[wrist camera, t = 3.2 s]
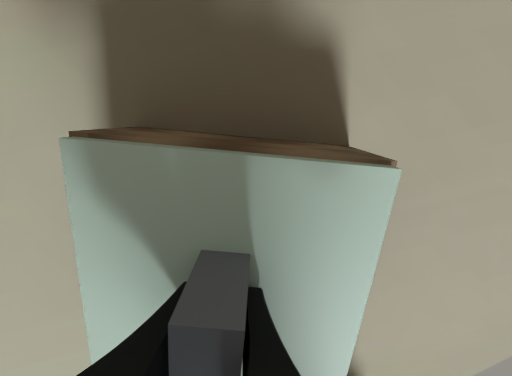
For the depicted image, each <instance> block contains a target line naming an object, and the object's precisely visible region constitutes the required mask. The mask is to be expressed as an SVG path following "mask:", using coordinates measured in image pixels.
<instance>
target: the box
mask: <svg viewBox="0 0 512 376" xmlns="http://www.w3.org/2000/svg"><path fill="white" fill-rule="evenodd" d="M69 137H84V138H95V139H106V140H117V141H128V142H140V143H151V144H162V145H173V146H184V147H195V148H206V149H217V150H228V151H239V152H250V153H261V154H272V155H283V156H294V157H305V158H316V159H327V160H338V161H349V162H360V163H371V164H382V165H392V166H395V167H396V164H397V161H395V160H392V159H388V158H385V157H382V156H379V155H375V154H372V153H369V152H366V151H362V150H359V149H356V148H353V147H349V146H338V145H327V144H316V143H306V142H295V141H284V140H273V139H262V138H251V137H240V136H229V135H218V134H207V133H196V132H185V131H174V130H164V129H153V128H142V127H127V128H112V129H96V130H81V131H69Z"/></svg>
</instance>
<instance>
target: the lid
mask: <svg viewBox="0 0 512 376" xmlns="http://www.w3.org/2000/svg"><path fill="white" fill-rule="evenodd" d="M59 145H60V152H61V158H62V165H63V172H64V179H65V186H66V193H67V200H68V207H69V214H70V221H71V227H72V234H73V241H74V248H75V255H76V262H77V269H78V276H79V283H80V289H81V296H82V303H83V310H84V317H85V324H86V331H87V338H88V345H89V351H90V358H91V365H92V364H94V363H95V362H96V361H98V360H99V359H101V358H102V357H103V356H105V355H106V354H107V353H109V352H110V351H111V350H112V349H114V348H115V347H116V346H118V345H119V344H120V343H121V342H122V341H124V340H125V339H126V338H127V337H128V336H130V335H131V334H132V333H133V332H134V331H135V330H136V329H138V328H139V327H140V326H141V325H142V324H143V323H144V322H145V321H146V320H147V319H149V318H150V317H151V316H152V315H153V314H154V313H155V312H156V311H157V310H158V309H159V308H160V307H161V306H162V305H163V304H164V303H165V302H166V301H167V300H168V298H169V297H170V296H171V295H172V294H173V293H174V292H175V291H176V290H177V289H178V288H179V287H180V285H181V284H182V283H183V282H185V281H187V283H186V285H185V287H184V289H183V292H182V294H181V296H180V298H179V301H178V303H177V305H176V307H175V310H174V312H173V314H172V316H171V319H170V321H169V323H168V359H169V376H242V357H243V347H244V336H245V324H246V310H247V295H248V287H258V288H261V289H262V290H263V294H264V298H265V301H266V304H267V307H268V310H269V313H270V316H271V318H272V320H273V323H274V325H275V328H276V330H277V332H278V334H279V336H280V339H281V341H282V343H283V345H284V347H285V349H286V350H287V352H288V354H289V356H290V358H291V360H292V361H293V363H294V365H295V367H296V368H297V370H298V372H299V373H300V375H301V376H347V373H348V369H349V366H350V362H351V358H352V354H353V351H354V347H355V343H356V340H357V336H358V332H359V328H360V325H361V321H362V317H363V313H364V310H365V306H366V302H367V299H368V295H369V291H370V287H371V284H372V280H373V276H374V273H375V269H376V265H377V261H378V258H379V254H380V250H381V246H382V243H383V239H384V235H385V232H386V228H387V224H388V220H389V217H390V213H391V209H392V206H393V202H394V198H395V194H396V191H397V187H398V183H399V179H400V176H401V172H402V169H400V168H397V167H395V166H392V165H382V164H371V163H360V162H349V161H338V160H327V159H316V158H305V157H294V156H283V155H272V154H261V153H250V152H239V151H228V150H217V149H206V148H195V147H184V146H173V145H162V144H151V143H140V142H128V141H117V140H106V139H95V138H84V137H64V138H59Z"/></svg>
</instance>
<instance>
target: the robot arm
mask: <svg viewBox="0 0 512 376" xmlns="http://www.w3.org/2000/svg"><path fill="white" fill-rule="evenodd" d="M186 283H187V281H185V282H183V283H182V284H181V285H180V287H179V288H178V289H177V290H176V291H175V292H174V293H173V294H172V295H171V296H170V297H169V298H168V300H167V301H166V302H165V303H164V304H163V305H162V306H161V307H160V308H159V309H158V310H157V311H156V312H155V313H154V314H153V315H152V316H151V317H150V318H149V319H147V320H146V321H145V322H144V323H143V324H142V325H141V326H140V327H139V328H138V329H136V330H135V331H134V332H133V333H132V334H131V335H130V336H128V337H127V338H126V339H125V340H124V341H122V342H121V343H120V344H119V345H118V346H116V347H115V348H114V349H112V350H111V351H110V352H109V353H107V354H106V355H105V356H103V357H102V358H101V359H99V360H98V361H96V362H95V363H94V364H92V365H91V366H90V367H88V368H87V369H85V370H84V371H83V372H81V373H80V374H78V375H77V376H169V359H168V323H169V321H170V319H171V316H172V314H173V312H174V310H175V307H176V305H177V303H178V301H179V298H180V296H181V294H182V292H183V289H184V287H185V285H186ZM242 376H301V375H300V373H299V372H298V370H297V368H296V367H295V365H294V363H293V361H292V360H291V358H290V356H289V354H288V352H287V350H286V349H285V347H284V345H283V343H282V341H281V339H280V336H279V334H278V332H277V330H276V328H275V325H274V323H273V320H272V318H271V316H270V313H269V310H268V307H267V304H266V301H265V298H264V294H263V290H262V289H261V288H258V287H248V295H247V310H246V324H245V336H244V347H243V357H242Z"/></svg>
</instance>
